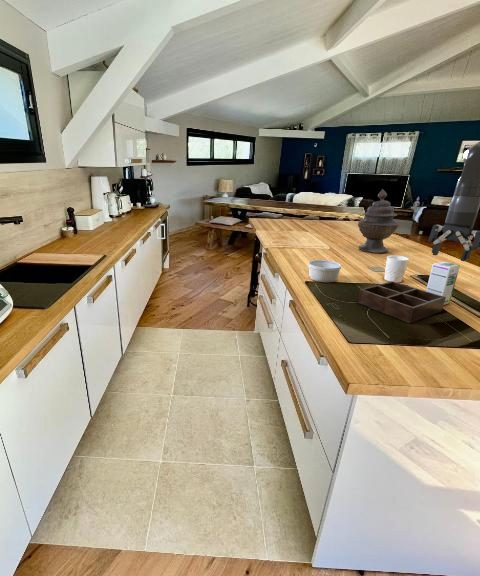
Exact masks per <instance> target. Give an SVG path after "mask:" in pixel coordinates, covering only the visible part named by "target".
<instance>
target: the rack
mask: <svg viewBox="0 0 480 576" xmlns="http://www.w3.org/2000/svg"><path fill="white" fill-rule="evenodd" d="M357 298H358V299H357V304H359V305H362V306H363V307H364V306H365V307H366V308H370V309H372V310H374V311H377V312H380V313H382V314H385V315H388V316H390V317H391V318H394V319H397V320H399V321H403V322H404V323H408V324H412V323H414V322H418V321H421V320H422V319H425V318H427V317H431V316H434V315H435V314H438V313H442V311H443V308H444V306H445V305H444V302H445V298H446V297H444V296H440V295H437V294H434V293H430V292H427V291H426V290H424V289H420V288H417V287H414V286H409V285H407V284H403V283H401V282H393V281H387V282H383V283H379V284H376V285H371V286H368V287H364V288H361V289H359V293H358V297H357Z"/></svg>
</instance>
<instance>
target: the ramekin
mask: <svg viewBox="0 0 480 576" xmlns="http://www.w3.org/2000/svg"><path fill="white" fill-rule="evenodd" d="M307 265H308V277H309V278H310V280H313V281H315V282H318V283H334V282H335V281H337V279H338V278H339V275H340V271H341V269H342V264H340V263H339V262H336V261H333V260H328V259H327V260H326V259H314V260H310V261H309V262H308V264H307Z"/></svg>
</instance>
